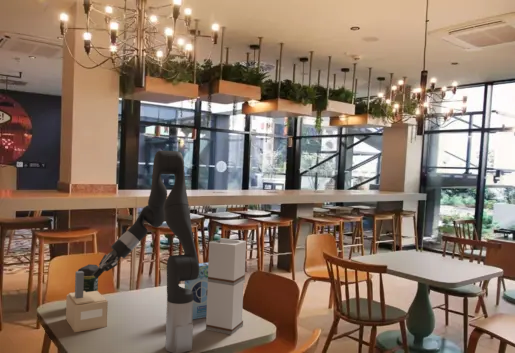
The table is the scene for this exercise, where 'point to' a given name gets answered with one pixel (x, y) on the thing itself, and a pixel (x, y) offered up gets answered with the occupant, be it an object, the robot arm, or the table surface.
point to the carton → (87, 313)
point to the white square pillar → (225, 285)
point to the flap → (80, 290)
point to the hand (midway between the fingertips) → (94, 276)
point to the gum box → (199, 291)
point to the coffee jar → (90, 278)
